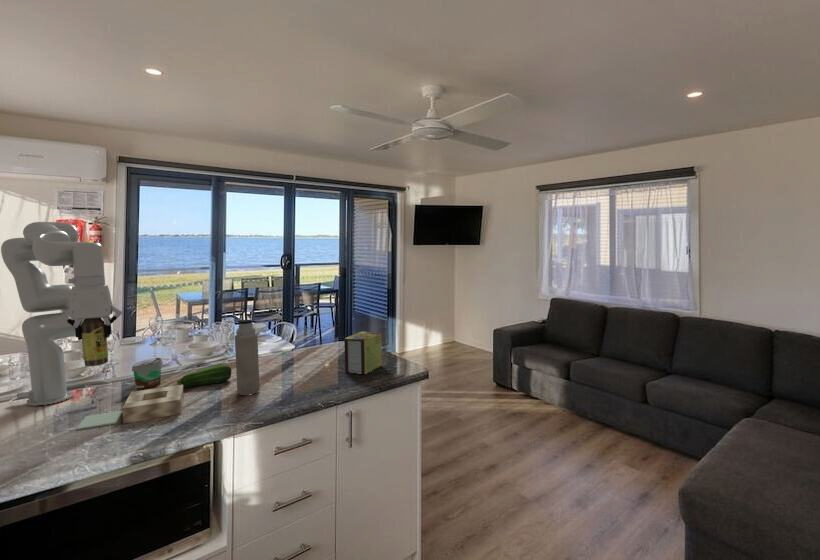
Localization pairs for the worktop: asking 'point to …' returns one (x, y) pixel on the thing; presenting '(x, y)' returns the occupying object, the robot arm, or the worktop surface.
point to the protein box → (362, 352)
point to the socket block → (153, 403)
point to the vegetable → (206, 376)
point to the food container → (148, 374)
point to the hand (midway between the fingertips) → (94, 337)
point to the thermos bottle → (247, 358)
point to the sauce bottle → (94, 342)
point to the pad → (100, 420)
